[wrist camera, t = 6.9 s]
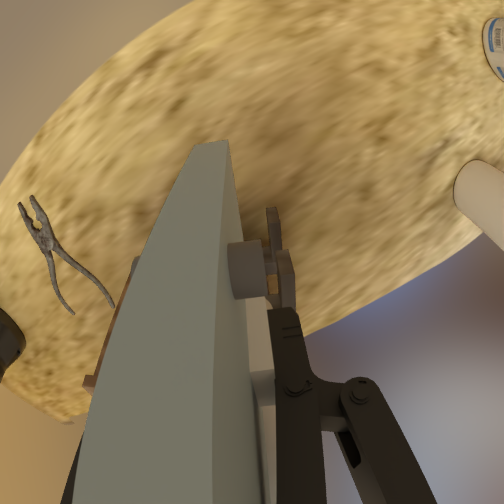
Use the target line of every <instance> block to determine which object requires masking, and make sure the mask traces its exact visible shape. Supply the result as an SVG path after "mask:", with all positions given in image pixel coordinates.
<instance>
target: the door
mask: <svg viewBox="0 0 504 504" xmlns="http://www.w3.org/2000/svg"><path fill="white" fill-rule="evenodd" d="M263 296H268V290H267V281H266V273H265V266H264V258H263V251H262V244H261V239H257V240H250V241H244V239H243V232H242V226H241V220H240V214H239V207H238V201H237V194H236V188H235V182H234V175H233V169H232V162H231V156H230V149H229V143H228V140H222V141H216V142H209V143H204V144H198V145H194V147H193V149H192V151H191V153H190V154H189V156H188V158H187V160H186V162H185V164H184V166H183V168H182V170H181V171H180V173H179V175H178V177H177V179H176V181H175V183H174V185H173V187H172V189H171V191H170V193H169V195H168V197H167V199H166V201H165V203H164V205H163V208H162V210H161V212H160V214H159V216H158V218H157V220H156V223H155V225H154V227H153V229H152V231H151V234H150V236H149V238H148V240H147V243H146V245H145V247H144V250H143V252H142V254H141V256H137V257H135V259H134V260H133V263H132V266H131V281H130V284H129V286H128V289H127V291H126V294H125V297H124V299H123V302H122V305H121V307H120V310H119V313H118V316H117V319H116V321H115V324H114V327H113V330H112V333H111V336H110V339H109V342H108V345H107V348H106V352H105V355H104V358H103V361H102V365H101V368H100V371H99V375H98V378H97V382H96V385H95V389H94V393H93V397H92V400H91V404H90V408H89V412H88V417H87V421H86V426H85V430H84V434H83V439H82V444H81V449H80V454H79V460H78V466H77V472H76V478H75V485H74V492H73V500H72V504H276V406H275V405H273V406H264V407H259V406H258V402H257V398H256V394H255V390H254V386H253V383H252V379H251V375H250V367H249V351H248V335H247V319H246V302H245V299H247V298H255V297H263ZM265 301H266V309H267V310H269V309H273V308H272V305H271V304H270V302H269V301H268V300H266V299H265Z"/></svg>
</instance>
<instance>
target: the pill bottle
mask: <svg viewBox="0 0 504 504" xmlns="http://www.w3.org/2000/svg"><path fill="white" fill-rule="evenodd" d="M454 201H455V204H456V206H457V208H458V209H459V210H460V211H461V212H462V213H463V214H464V215H465V216H466V217H468V218H469V219H470V220H471V221H472V222H473V223H474V224H475V225H477V226H478V227H479V228H480V229H481V230H482V231H483V232H484V233H485V234H487V235H488V236H489V237H490V238H491V239H492V240H493V241H494V242H495V243H496V244H497V245H498V246H499V247H500V248H501V249H502V250H503V251H504V173H503V172H501V171H499V170H498V169H496V168H494V167H493V166H491V165H489V164H488V163H486V162H483V161H480V160H473V161H471V162H469V163H467V164H466V165H465V166H464V167H463V168H462V169H461V171H460V172H459V174H458V176H457V178H456V181H455V185H454Z"/></svg>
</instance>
